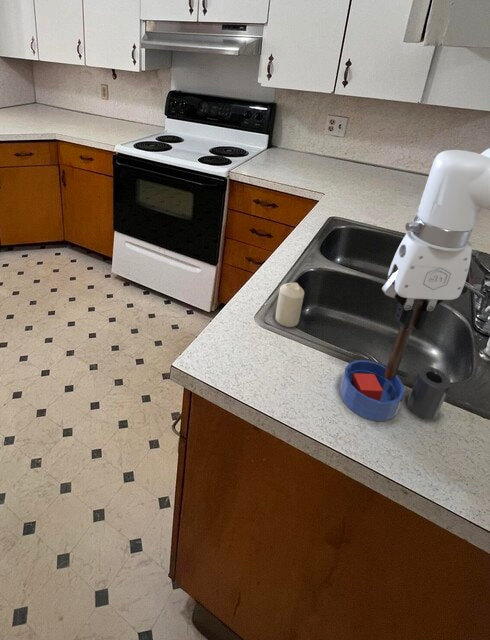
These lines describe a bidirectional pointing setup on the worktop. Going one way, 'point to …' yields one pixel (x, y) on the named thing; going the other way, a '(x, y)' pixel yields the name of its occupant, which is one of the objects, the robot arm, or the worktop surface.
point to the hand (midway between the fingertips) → (408, 323)
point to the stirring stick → (402, 343)
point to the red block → (367, 385)
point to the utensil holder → (428, 392)
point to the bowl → (369, 406)
